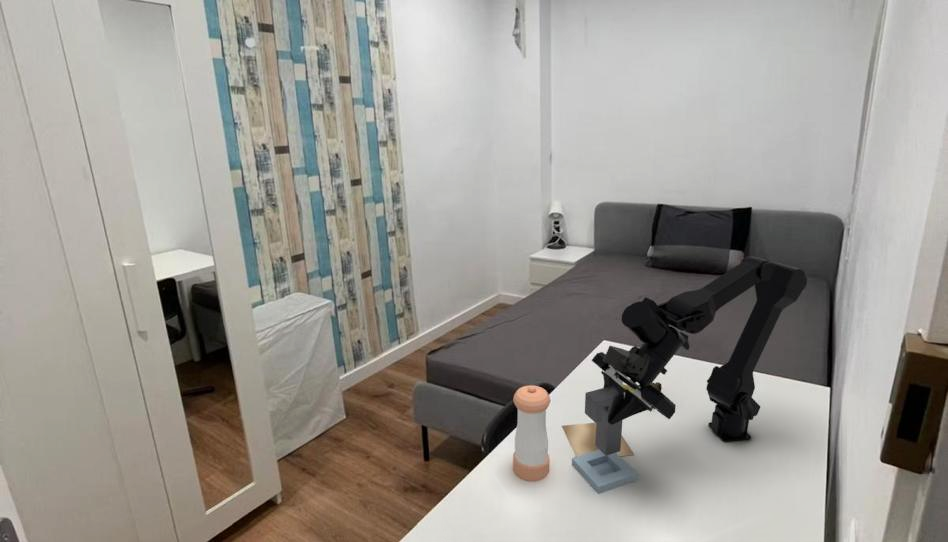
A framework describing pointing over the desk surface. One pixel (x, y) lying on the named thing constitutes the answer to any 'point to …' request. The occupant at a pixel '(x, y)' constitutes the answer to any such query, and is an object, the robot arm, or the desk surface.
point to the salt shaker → (531, 434)
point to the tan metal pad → (589, 439)
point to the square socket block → (604, 470)
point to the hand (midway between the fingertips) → (603, 418)
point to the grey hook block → (605, 417)
